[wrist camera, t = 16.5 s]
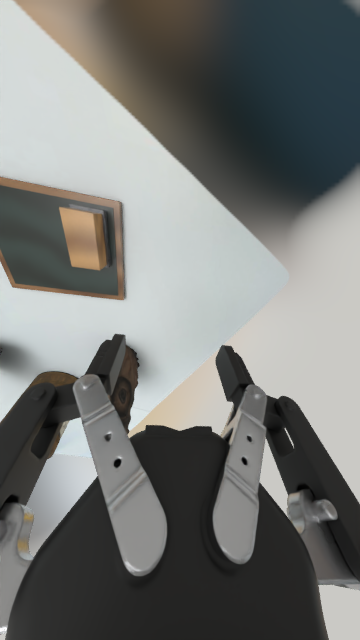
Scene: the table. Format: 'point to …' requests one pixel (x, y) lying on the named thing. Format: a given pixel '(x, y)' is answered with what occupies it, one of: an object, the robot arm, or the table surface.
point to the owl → (125, 387)
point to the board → (54, 242)
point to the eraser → (86, 236)
